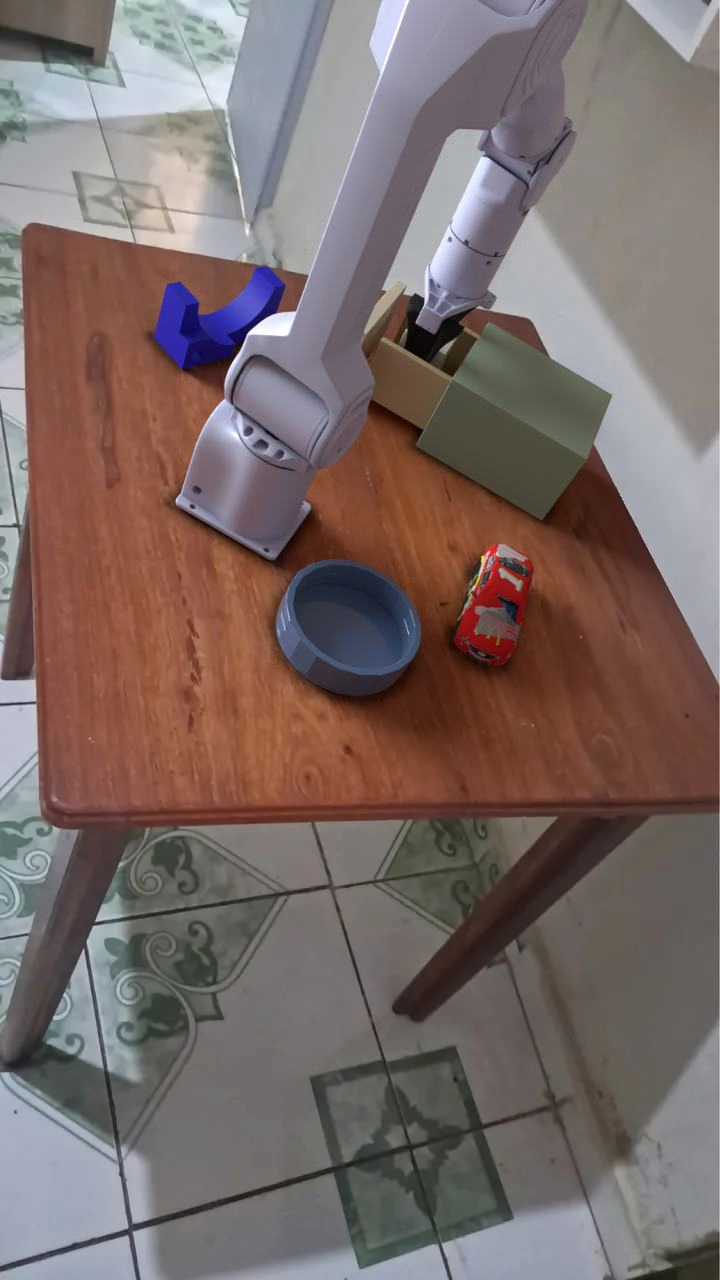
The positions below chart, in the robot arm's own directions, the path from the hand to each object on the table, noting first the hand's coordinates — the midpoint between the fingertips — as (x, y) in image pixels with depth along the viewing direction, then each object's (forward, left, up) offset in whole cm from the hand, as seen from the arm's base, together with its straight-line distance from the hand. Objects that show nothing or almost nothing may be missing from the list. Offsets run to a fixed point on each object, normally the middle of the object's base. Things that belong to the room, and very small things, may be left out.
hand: (418, 357), depth 95 cm
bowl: (+7, -33, -5) cm, 34 cm away
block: (0, 0, -1) cm, 1 cm away
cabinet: (+11, 0, -5) cm, 12 cm away
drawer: (-1, 0, -4) cm, 4 cm away
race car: (+17, -22, -5) cm, 29 cm away
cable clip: (-18, -8, -5) cm, 20 cm away
